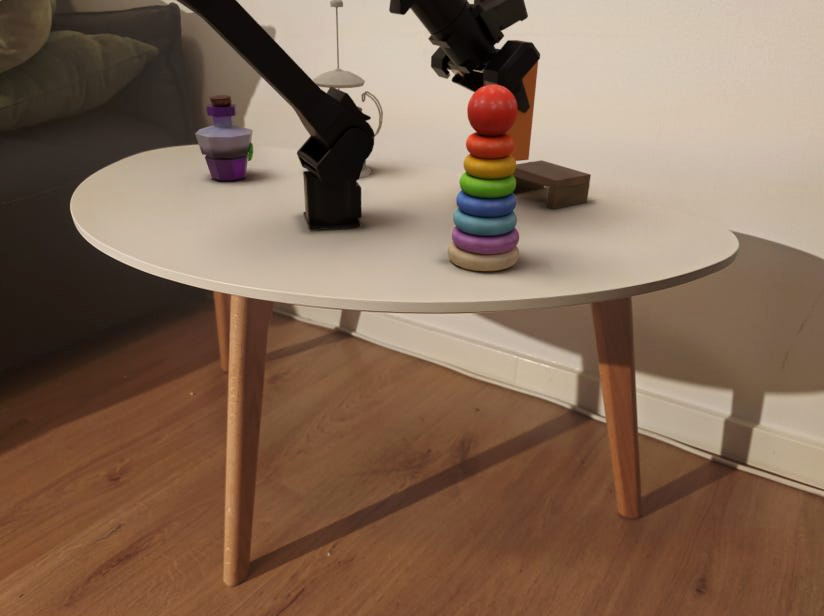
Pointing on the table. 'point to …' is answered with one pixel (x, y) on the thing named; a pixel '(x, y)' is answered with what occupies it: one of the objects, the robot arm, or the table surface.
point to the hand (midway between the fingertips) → (516, 107)
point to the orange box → (524, 119)
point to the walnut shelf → (553, 182)
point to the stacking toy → (487, 186)
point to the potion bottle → (225, 142)
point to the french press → (346, 83)
